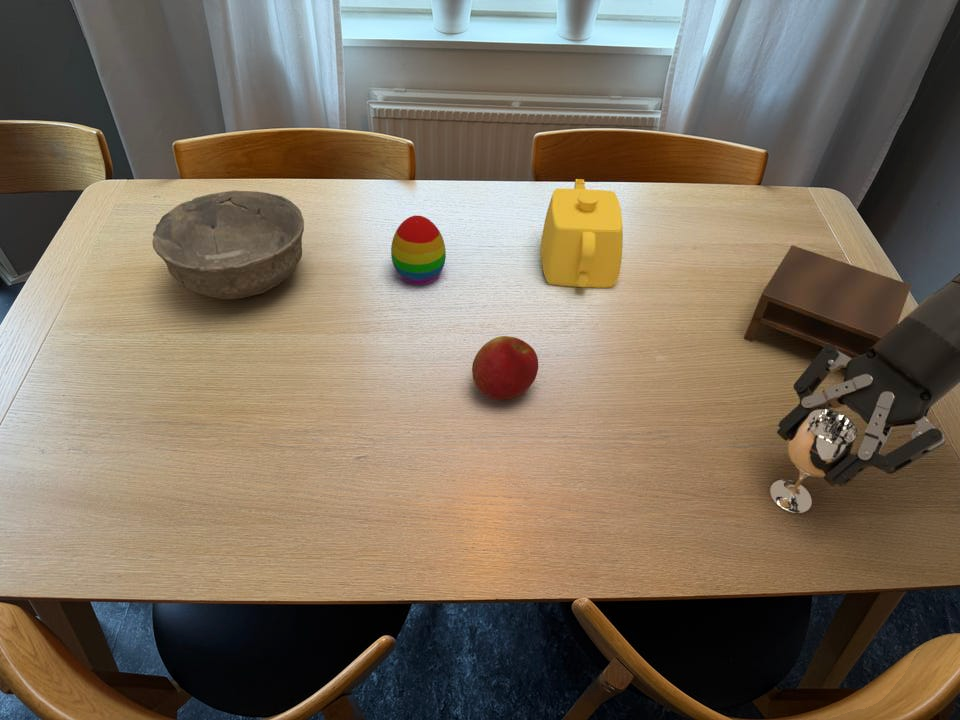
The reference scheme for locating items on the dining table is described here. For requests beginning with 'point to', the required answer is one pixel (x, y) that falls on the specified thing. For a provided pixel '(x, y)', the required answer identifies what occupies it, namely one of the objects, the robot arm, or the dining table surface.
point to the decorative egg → (418, 250)
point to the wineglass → (814, 455)
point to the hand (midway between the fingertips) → (804, 458)
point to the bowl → (231, 242)
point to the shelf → (829, 302)
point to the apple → (505, 367)
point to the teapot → (582, 238)
